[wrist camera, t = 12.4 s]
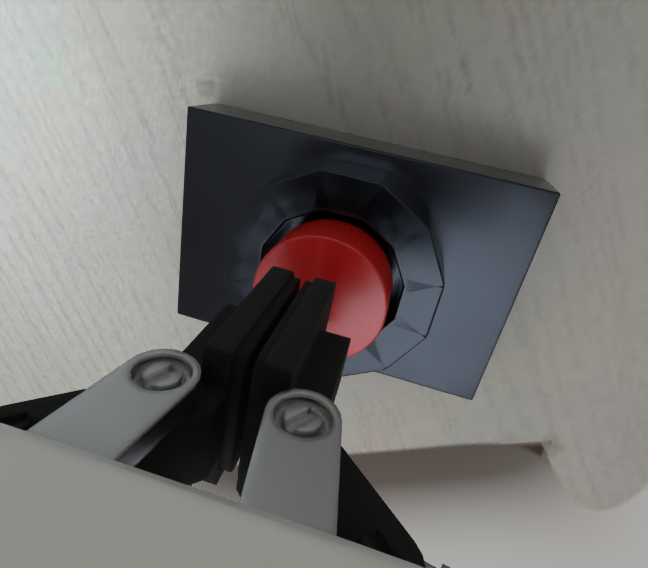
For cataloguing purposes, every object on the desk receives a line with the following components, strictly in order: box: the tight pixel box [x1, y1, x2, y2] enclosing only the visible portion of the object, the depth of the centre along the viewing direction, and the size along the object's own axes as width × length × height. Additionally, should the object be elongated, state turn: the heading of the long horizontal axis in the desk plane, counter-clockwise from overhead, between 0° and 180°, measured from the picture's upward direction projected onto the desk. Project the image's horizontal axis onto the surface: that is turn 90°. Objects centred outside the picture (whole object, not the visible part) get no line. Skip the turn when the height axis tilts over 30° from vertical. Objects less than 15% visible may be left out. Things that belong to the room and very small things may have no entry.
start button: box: [253, 219, 393, 358], centre depth 14 cm, size 4×4×2 cm
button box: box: [178, 104, 560, 400], centre depth 16 cm, size 12×8×4 cm, turn 79°
